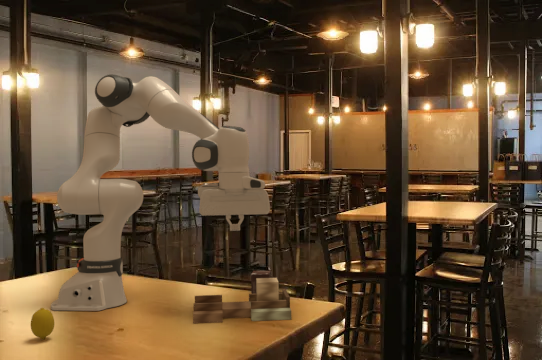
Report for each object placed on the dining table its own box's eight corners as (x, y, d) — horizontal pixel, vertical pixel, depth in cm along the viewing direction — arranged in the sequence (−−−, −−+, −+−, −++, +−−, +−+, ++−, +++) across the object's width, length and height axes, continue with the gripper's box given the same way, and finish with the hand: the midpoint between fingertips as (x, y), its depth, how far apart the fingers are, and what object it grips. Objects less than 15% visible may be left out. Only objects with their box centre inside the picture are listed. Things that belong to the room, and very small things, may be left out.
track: (193, 323, 156) (192, 303, 155) (195, 308, 171) (195, 290, 171) (291, 319, 158) (291, 299, 158) (284, 304, 174) (284, 286, 174)
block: (257, 307, 162) (257, 282, 162) (256, 301, 168) (256, 278, 168) (278, 306, 162) (278, 282, 162) (276, 301, 168) (276, 277, 168)
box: (271, 292, 191) (271, 270, 191) (269, 296, 185) (269, 274, 185) (253, 292, 192) (253, 270, 191) (251, 296, 186) (250, 274, 185)
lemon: (35, 336, 146) (34, 305, 145) (57, 335, 146) (56, 304, 146) (27, 343, 140) (27, 311, 140) (51, 342, 141) (50, 310, 140)
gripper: (197, 183, 159) (198, 232, 160) (270, 182, 161) (270, 231, 162) (198, 182, 165) (198, 230, 166) (268, 181, 167) (268, 228, 168)
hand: (235, 230), depth 164 cm, fingers closed
